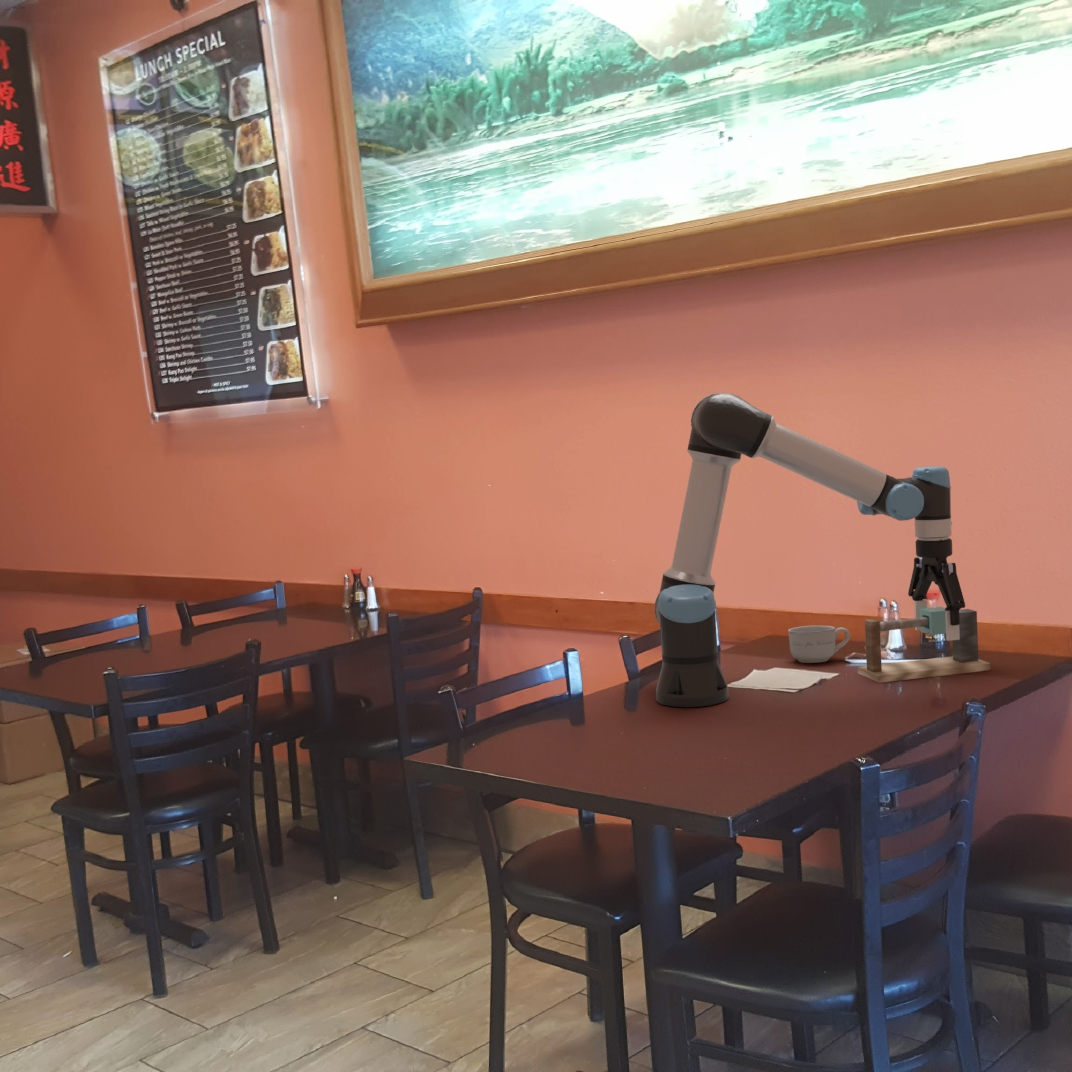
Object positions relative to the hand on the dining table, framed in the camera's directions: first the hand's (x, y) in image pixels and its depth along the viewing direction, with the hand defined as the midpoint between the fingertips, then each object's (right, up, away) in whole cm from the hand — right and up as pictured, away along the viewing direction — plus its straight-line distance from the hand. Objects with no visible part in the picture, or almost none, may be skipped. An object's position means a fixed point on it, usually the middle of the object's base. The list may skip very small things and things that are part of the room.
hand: (936, 634), depth 261 cm
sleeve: (0, +1, 0) cm, 1 cm away
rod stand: (-3, -8, 0) cm, 9 cm away
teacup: (-21, -8, +18) cm, 29 cm away
